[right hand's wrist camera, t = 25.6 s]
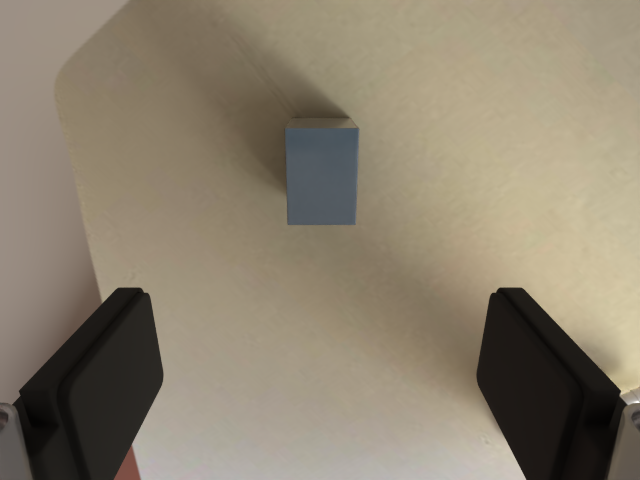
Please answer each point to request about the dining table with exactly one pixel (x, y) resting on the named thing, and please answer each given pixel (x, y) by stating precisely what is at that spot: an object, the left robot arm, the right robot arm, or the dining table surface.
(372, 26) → the dining table surface
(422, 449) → the dining table surface
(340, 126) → the block
